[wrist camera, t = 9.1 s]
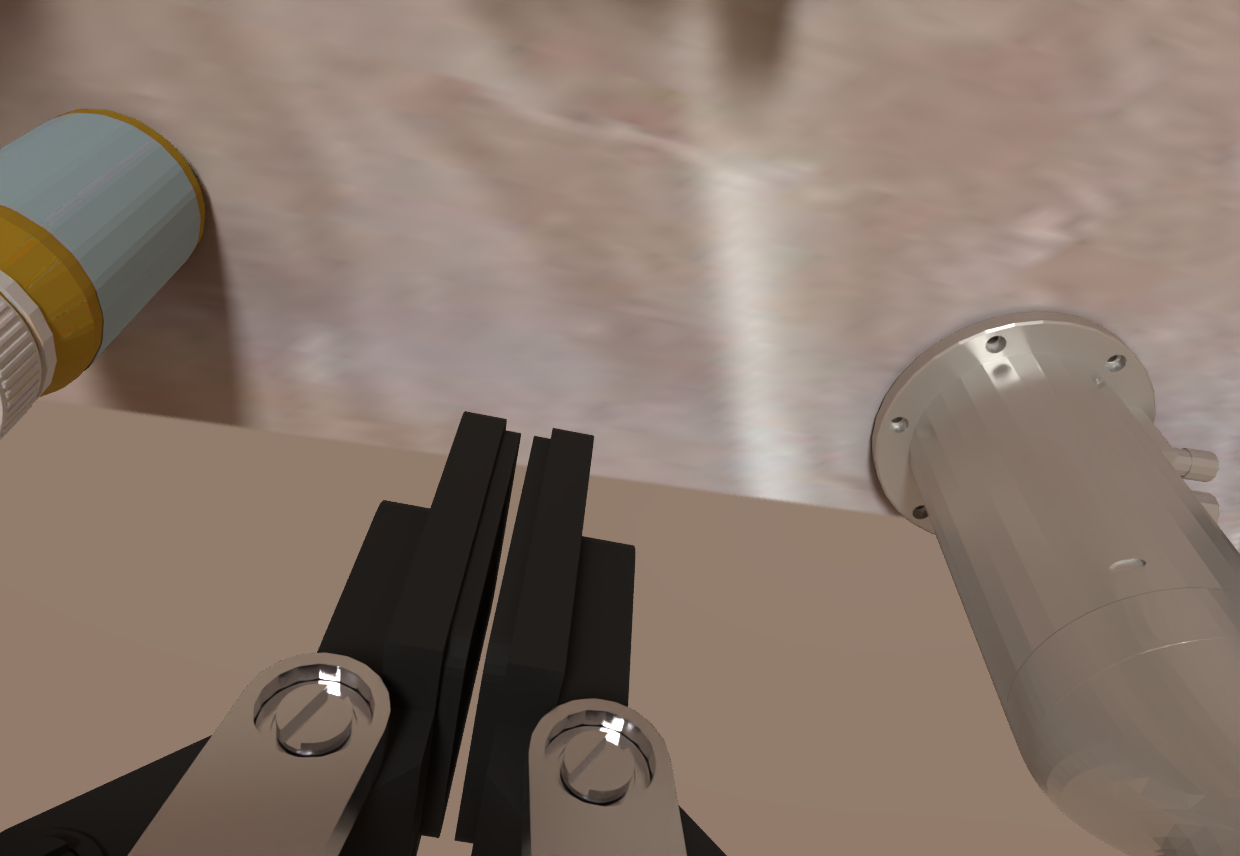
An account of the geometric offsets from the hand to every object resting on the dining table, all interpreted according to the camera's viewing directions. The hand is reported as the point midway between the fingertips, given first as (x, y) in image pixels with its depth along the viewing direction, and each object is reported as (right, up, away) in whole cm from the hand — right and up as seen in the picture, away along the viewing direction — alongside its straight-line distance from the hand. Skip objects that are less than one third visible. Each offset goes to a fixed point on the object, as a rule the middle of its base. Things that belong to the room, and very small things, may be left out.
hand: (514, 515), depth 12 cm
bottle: (-19, +11, +27) cm, 35 cm away
